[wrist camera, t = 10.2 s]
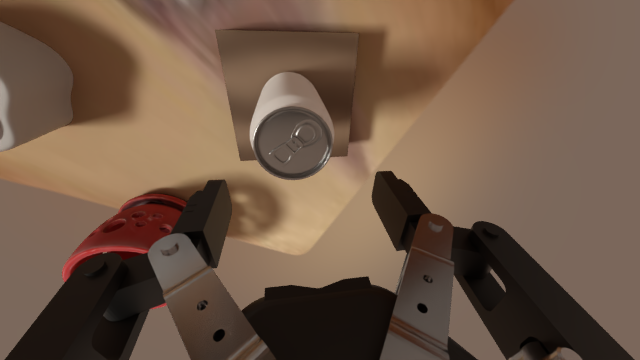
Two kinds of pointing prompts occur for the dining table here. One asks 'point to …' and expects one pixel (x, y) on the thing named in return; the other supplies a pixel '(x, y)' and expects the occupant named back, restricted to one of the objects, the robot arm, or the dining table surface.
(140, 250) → the plant pot
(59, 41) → the dining table surface
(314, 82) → the walnut stand
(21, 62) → the lumpy-topped squat cylinder
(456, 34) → the dining table surface
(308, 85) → the can
